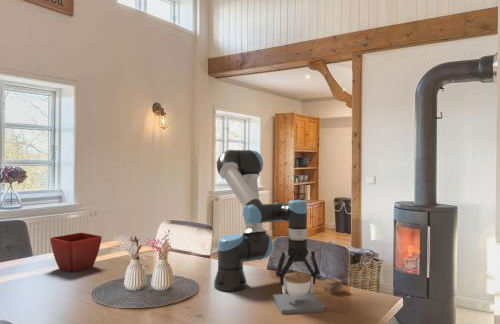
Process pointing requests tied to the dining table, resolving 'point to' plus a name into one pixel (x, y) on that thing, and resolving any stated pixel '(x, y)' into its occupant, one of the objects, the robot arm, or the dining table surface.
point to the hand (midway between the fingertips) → (297, 292)
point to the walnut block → (333, 286)
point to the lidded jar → (298, 284)
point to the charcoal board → (297, 304)
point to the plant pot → (75, 251)
